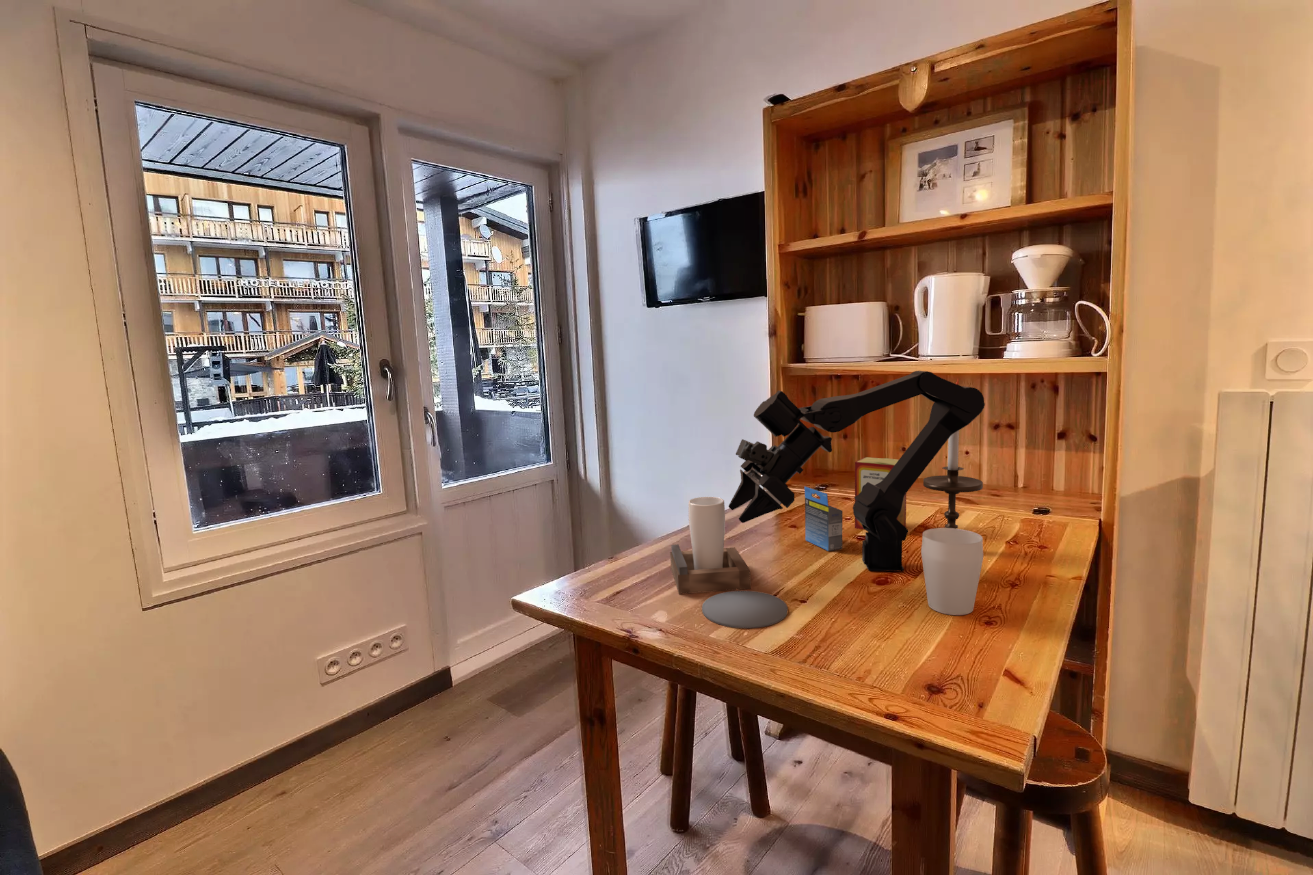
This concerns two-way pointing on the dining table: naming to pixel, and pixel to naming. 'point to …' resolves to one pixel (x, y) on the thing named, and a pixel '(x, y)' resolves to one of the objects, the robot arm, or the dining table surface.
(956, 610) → the cup
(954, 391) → the robot arm
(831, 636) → the dining table surface
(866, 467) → the baking soda box
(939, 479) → the candlestick
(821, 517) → the blue hang tab box
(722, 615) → the slate mat
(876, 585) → the dining table surface
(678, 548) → the wooden holder tray
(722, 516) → the drinking glass
